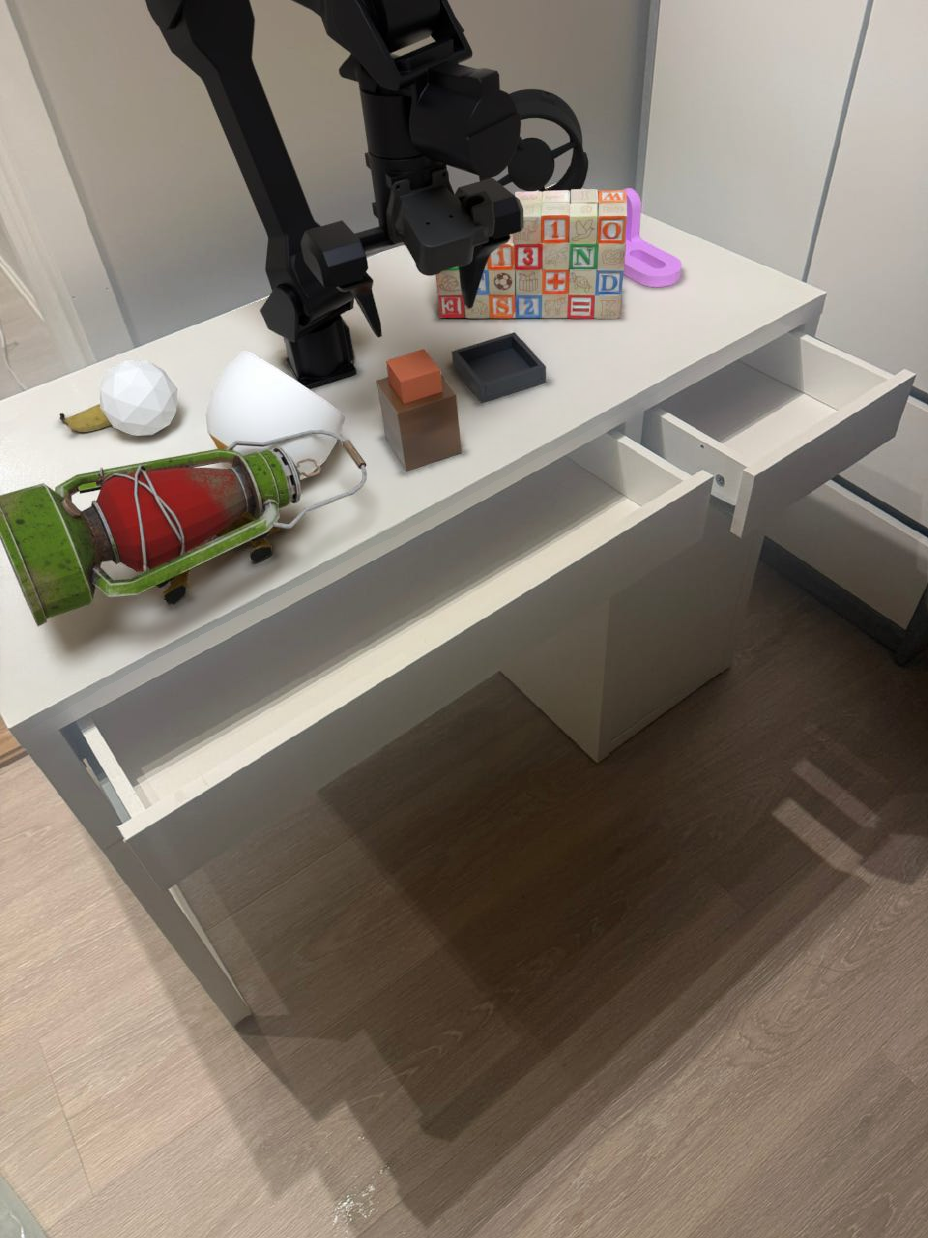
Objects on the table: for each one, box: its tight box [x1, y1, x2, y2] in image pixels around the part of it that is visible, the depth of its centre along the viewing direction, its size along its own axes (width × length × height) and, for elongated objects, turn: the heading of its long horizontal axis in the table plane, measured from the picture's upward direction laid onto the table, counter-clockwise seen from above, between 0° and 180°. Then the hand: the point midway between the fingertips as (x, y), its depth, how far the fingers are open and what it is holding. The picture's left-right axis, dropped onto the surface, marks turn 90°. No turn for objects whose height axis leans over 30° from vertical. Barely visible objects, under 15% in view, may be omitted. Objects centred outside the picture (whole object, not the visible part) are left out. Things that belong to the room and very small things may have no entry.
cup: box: [205, 349, 346, 481], centre depth 88 cm, size 12×12×10 cm
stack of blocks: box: [435, 188, 627, 320], centre depth 105 cm, size 21×6×12 cm, turn 84°
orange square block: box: [385, 348, 442, 404], centre depth 87 cm, size 4×4×2 cm
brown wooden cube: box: [375, 374, 462, 472], centre depth 91 cm, size 6×6×7 cm
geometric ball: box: [99, 359, 178, 437], centre depth 96 cm, size 8×8×8 cm
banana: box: [58, 403, 112, 433], centre depth 99 cm, size 10×2×4 cm
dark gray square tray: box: [451, 331, 547, 404], centre depth 100 cm, size 8×8×2 cm
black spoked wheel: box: [478, 88, 589, 192], centre depth 119 cm, size 14×14×10 cm
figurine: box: [154, 512, 281, 605], centre depth 84 cm, size 15×6×13 cm
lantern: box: [0, 430, 368, 627], centre depth 77 cm, size 14×11×30 cm
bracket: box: [622, 187, 683, 288], centre depth 112 cm, size 13×6×7 cm, turn 35°
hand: (423, 320), depth 85 cm, fingers open, 9 cm apart
